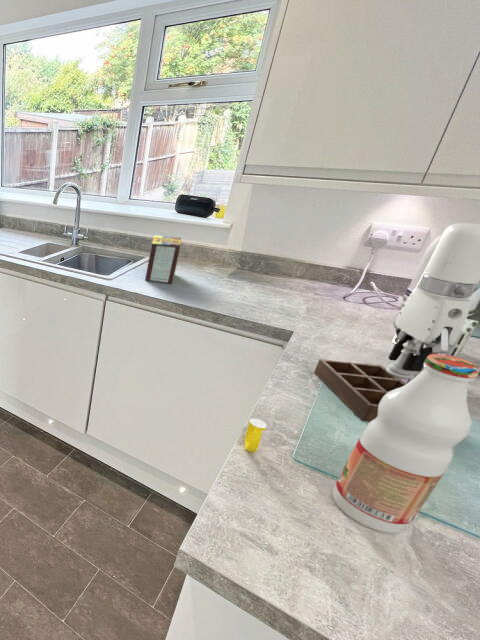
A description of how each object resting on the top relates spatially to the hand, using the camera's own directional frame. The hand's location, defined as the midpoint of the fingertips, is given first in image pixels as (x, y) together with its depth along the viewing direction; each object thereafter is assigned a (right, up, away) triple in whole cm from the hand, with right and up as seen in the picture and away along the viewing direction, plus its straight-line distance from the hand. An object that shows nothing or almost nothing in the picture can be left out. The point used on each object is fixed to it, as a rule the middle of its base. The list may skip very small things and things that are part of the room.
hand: (404, 364), depth 91 cm
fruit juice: (-31, -21, -23) cm, 44 cm away
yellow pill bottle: (-41, -15, -10) cm, 45 cm away
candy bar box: (+16, -6, +11) cm, 21 cm away
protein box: (-16, +28, +83) cm, 88 cm away
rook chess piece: (0, -3, +1) cm, 3 cm away
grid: (-3, -8, +5) cm, 10 cm away
